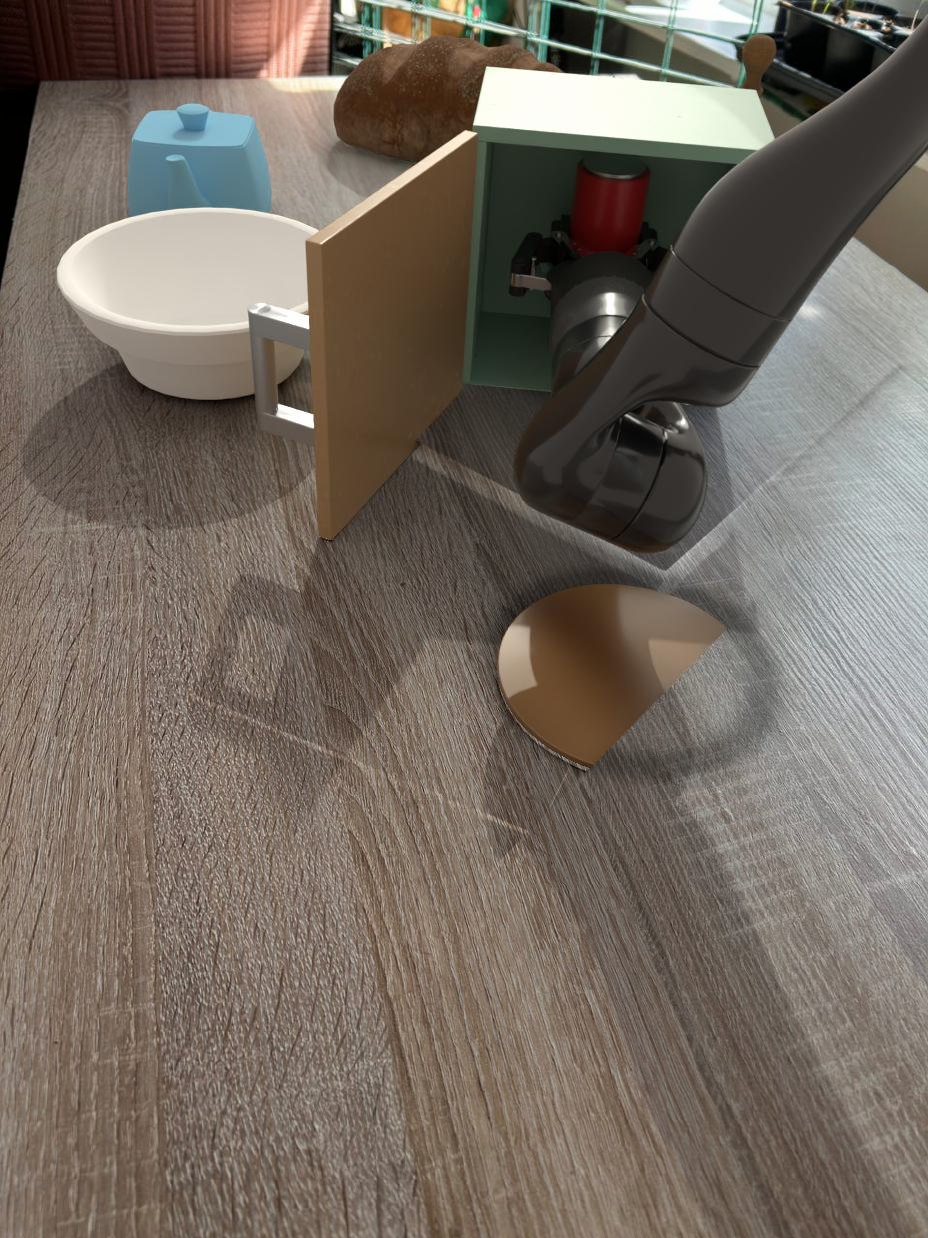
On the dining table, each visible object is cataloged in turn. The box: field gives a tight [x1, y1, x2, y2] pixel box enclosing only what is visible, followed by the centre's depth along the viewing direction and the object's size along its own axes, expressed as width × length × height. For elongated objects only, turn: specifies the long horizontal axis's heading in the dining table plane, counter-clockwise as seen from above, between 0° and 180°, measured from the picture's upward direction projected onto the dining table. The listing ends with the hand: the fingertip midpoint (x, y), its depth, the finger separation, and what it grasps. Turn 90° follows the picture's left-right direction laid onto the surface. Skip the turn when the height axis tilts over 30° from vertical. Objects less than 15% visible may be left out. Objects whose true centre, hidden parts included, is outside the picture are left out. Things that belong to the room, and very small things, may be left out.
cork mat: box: [496, 583, 728, 769], centre depth 61 cm, size 15×15×1 cm
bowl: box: [56, 208, 320, 401], centre depth 81 cm, size 21×21×8 cm
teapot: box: [127, 103, 273, 218], centre depth 96 cm, size 12×18×12 cm
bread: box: [332, 35, 565, 163], centre depth 118 cm, size 16×29×11 cm, turn 85°
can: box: [569, 152, 651, 254], centre depth 82 cm, size 5×5×14 cm
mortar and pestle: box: [738, 33, 777, 100], centre depth 103 cm, size 7×6×18 cm
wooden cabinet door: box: [248, 130, 478, 541], centre depth 69 cm, size 6×20×20 cm, turn 155°
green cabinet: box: [462, 67, 776, 393], centre depth 81 cm, size 13×20×20 cm, turn 85°
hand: (602, 230), depth 83 cm, fingers closed on can, 5 cm apart
